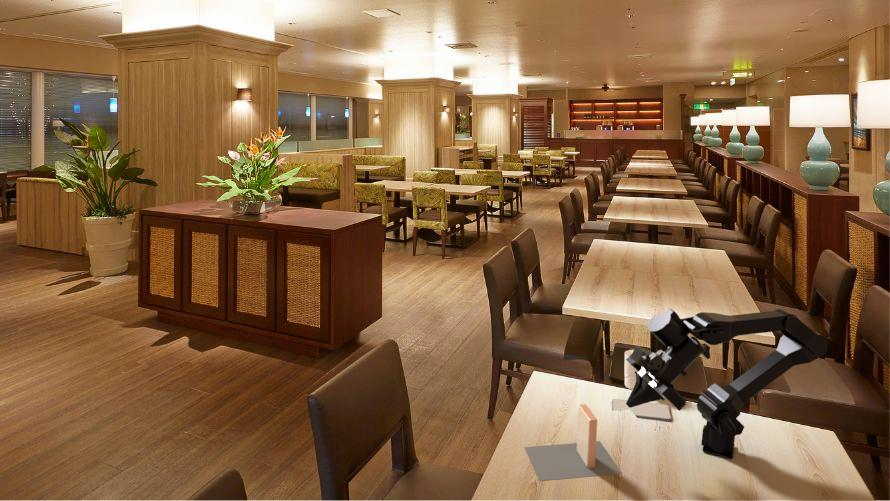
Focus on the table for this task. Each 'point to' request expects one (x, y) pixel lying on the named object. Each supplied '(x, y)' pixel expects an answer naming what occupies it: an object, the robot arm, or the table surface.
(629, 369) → the white cup
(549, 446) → the rubber mat
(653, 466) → the table surface
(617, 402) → the smartphone
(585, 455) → the terracotta tile
